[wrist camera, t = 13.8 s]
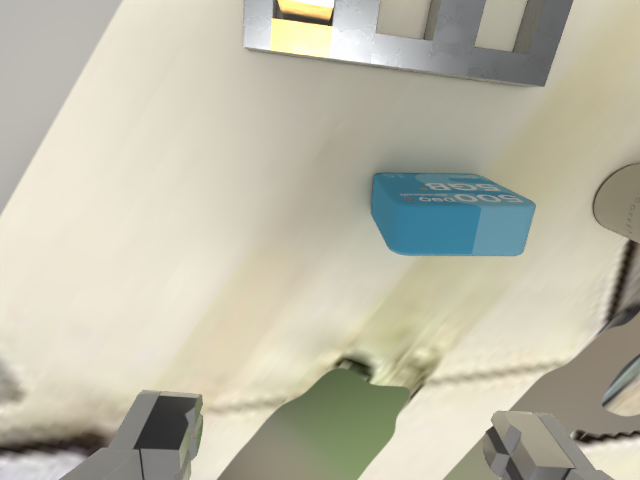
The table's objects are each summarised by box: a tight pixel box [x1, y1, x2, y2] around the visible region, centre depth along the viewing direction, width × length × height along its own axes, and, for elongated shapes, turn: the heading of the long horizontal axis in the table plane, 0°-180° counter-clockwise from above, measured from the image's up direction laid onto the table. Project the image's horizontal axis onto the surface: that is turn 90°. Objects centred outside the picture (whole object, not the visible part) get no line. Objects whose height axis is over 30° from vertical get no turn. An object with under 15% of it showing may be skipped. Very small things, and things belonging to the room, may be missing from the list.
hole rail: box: [243, 0, 573, 87], centre depth 31 cm, size 28×10×3 cm, turn 83°
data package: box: [371, 173, 536, 256], centre depth 34 cm, size 12×4×12 cm, turn 89°
